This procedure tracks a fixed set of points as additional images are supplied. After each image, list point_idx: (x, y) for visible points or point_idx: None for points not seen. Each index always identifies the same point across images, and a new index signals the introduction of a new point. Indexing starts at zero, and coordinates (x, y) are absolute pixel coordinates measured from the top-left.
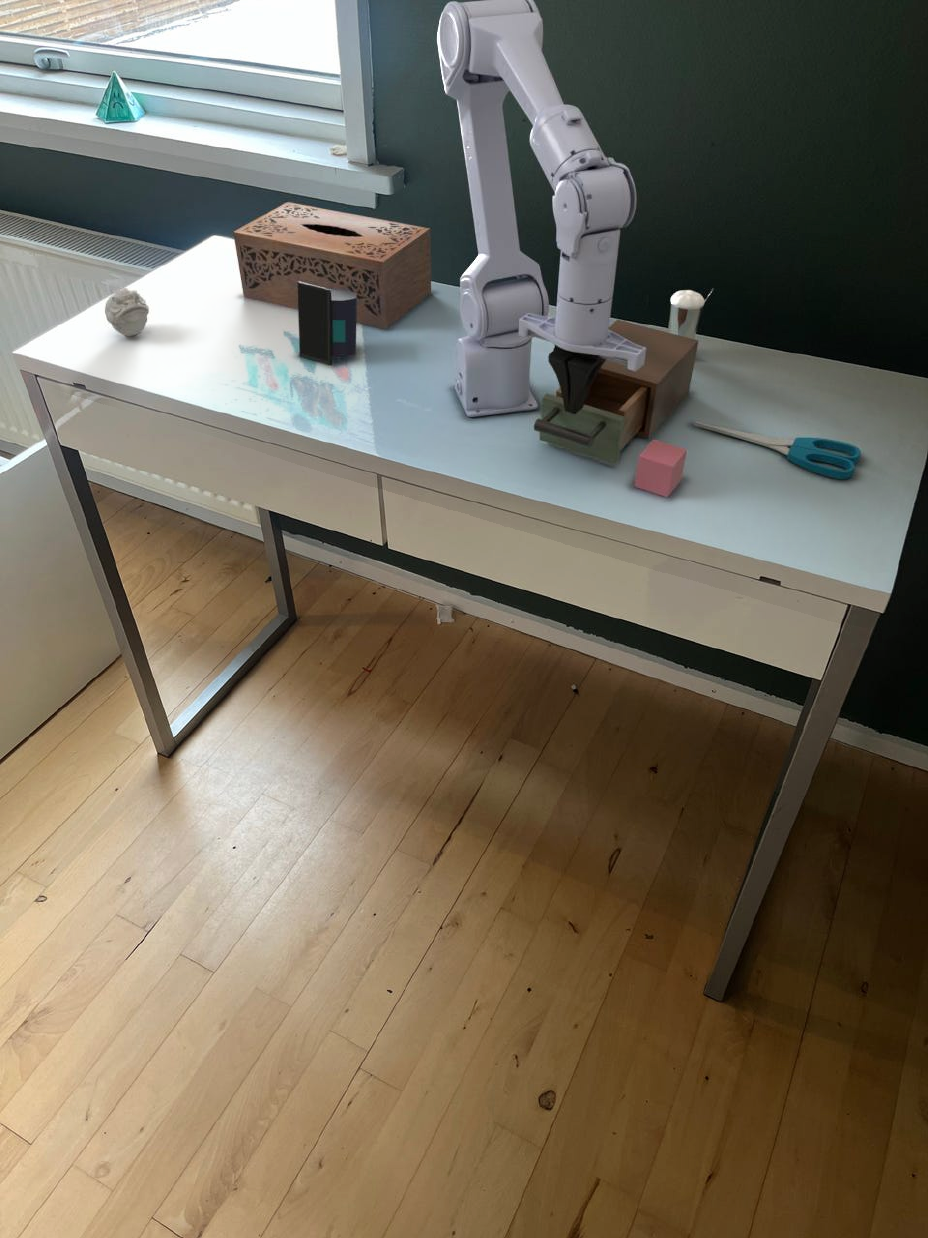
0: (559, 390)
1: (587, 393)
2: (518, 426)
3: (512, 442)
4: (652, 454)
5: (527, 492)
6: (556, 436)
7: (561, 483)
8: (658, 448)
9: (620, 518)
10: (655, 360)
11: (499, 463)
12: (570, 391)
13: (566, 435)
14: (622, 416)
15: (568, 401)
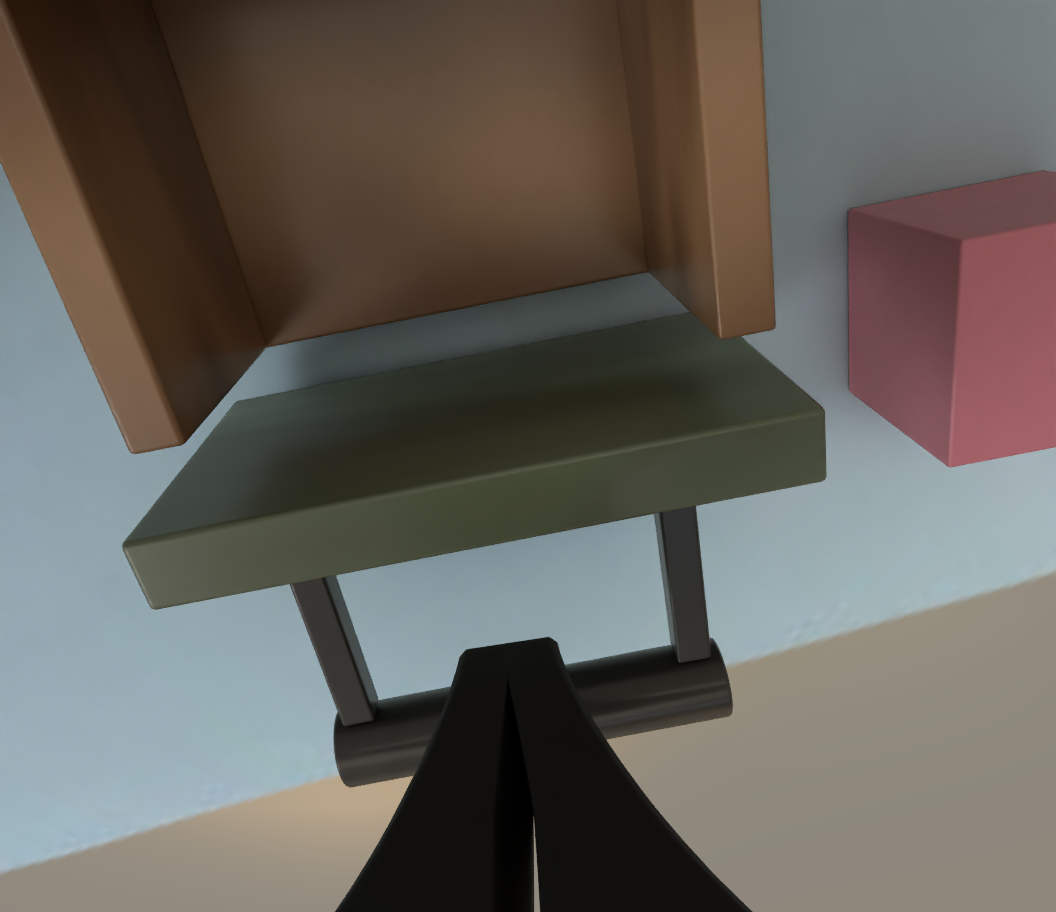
0: (141, 432)
1: (584, 705)
2: (20, 357)
3: (142, 495)
4: (1020, 403)
5: None
6: None
7: (562, 584)
8: (1030, 316)
9: (894, 602)
10: None
11: (252, 651)
12: (527, 908)
13: None
14: (806, 421)
15: (532, 856)
